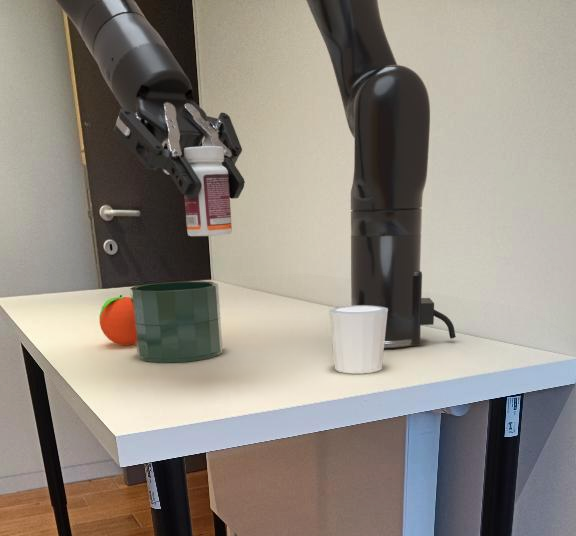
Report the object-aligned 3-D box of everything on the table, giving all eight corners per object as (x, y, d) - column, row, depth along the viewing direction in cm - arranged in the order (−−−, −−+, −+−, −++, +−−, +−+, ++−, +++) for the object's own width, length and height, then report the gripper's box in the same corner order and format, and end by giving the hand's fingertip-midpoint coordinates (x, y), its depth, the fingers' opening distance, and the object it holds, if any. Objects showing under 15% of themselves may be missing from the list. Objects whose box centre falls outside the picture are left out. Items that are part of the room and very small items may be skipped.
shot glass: (392, 363, 92) (393, 304, 89) (380, 375, 86) (381, 313, 83) (338, 361, 94) (338, 304, 91) (322, 373, 88) (321, 312, 85)
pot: (227, 345, 108) (222, 280, 104) (215, 361, 97) (210, 289, 94) (149, 347, 108) (142, 282, 105) (128, 363, 98) (120, 292, 94)
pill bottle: (235, 233, 82) (230, 147, 78) (228, 235, 77) (222, 145, 74) (192, 234, 82) (185, 149, 79) (182, 237, 78) (175, 147, 74)
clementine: (122, 351, 106) (116, 299, 103) (87, 348, 109) (80, 298, 107) (159, 342, 112) (154, 292, 109) (125, 339, 116) (119, 291, 113)
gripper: (90, 33, 73) (171, 163, 70) (209, 47, 82) (286, 163, 78) (73, 101, 79) (146, 224, 75) (185, 107, 88) (256, 217, 84)
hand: (217, 192), depth 77 cm, fingers closed on pill bottle, 4 cm apart
